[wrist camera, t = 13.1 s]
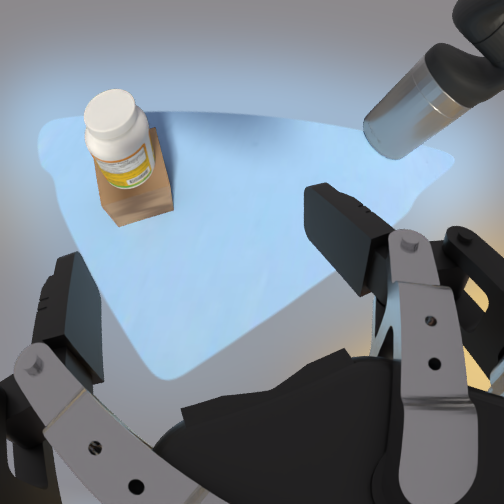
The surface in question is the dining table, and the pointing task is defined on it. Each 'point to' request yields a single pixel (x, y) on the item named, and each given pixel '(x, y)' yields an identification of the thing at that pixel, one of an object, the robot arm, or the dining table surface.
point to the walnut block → (138, 193)
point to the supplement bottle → (119, 138)
